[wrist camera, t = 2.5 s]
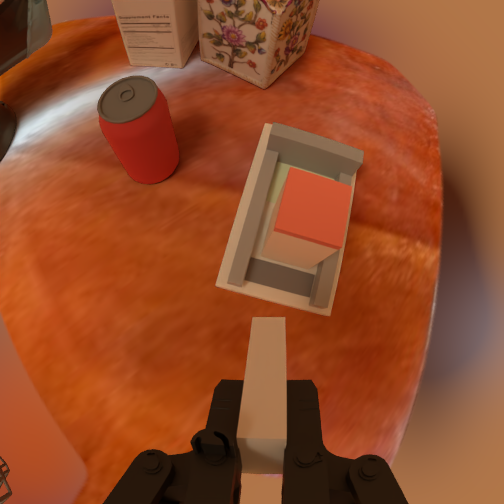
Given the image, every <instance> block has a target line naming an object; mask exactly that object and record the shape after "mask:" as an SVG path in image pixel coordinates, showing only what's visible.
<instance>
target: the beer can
mask: <svg viewBox="0 0 504 504" xmlns="http://www.w3.org/2000/svg"><path fill="white" fill-rule="evenodd" d="M97 110H98V113H99V123H100V127H101V129H102V132H103V134H104V136H105V137H106V139H107V141H108V142H109V144H110V146H111V147H112V149H113V151H114V152H115V154H116V155H117V157H118V159H119V160H120V162H121V164H122V165H123V167H124V168H125V170H126V172H127V173H128V175H129V176H130V177H131V178H132V179H133V180H134V181H137V182H139V183H142V184H153V183H158V182H160V181H162V180H164V179H166V178H167V177H168V176H170V175H171V174H172V173H173V172H174V170H175V168H176V167H177V165H178V162H179V157H180V156H179V149H178V145H177V141H176V137H175V133H174V129H173V125H172V121H171V117H170V113H169V109H168V104H167V100H166V99H165V97H164V95H163V93H162V92H161V90H160V89H159V88H158V87H157V85H156V84H155V82H154V81H153V80H151V79H150V78H148V77H144V76H130V77H126V78H122V79H120V80H118V81H116V82H114V83H113V84H112V85H110V86H109V87H108V88H107V89H106V90H105V91H104V92H103V94H102V95H101V97H100V99H99V101H98V107H97Z"/></svg>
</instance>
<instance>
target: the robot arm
mask: <svg viewBox="0 0 504 504" xmlns="http://www.w3.org/2000/svg"><path fill="white" fill-rule="evenodd" d="M51 36H52V25H51V20H50V15H49V11H48V6H47V1H46V0H0V76H1V75H2V74H4V73H5V72H6V71H8V70H9V69H11V68H12V67H13V66H15V65H16V64H18V63H19V62H21V61H22V60H24V59H25V58H28V57H29V56H30V55H31V54H32V53H33V52H35V51H36V50H38V49H39V48H41V47H42V46H44V45H45V44H46V43H47V42H48V41H49V40H50V38H51ZM15 126H16V116H15V113H14V112H13V110H12V109H11V108H10V107H9V106H8V105H7V104H6V103H5V102H2V101H0V160H1V159H2V157H3V156H4V154H5V152H6V151H7V149H8V147H9V145H10V142H11V140H12V137H13V135H14V131H15ZM190 442H191V445H192V447H193V450H192V451H190V452H188V453H183V454H176V455H167V454H166V453H164V452H162V451H160V450H155V449H152V450H146V451H144V452H141V453H140V454H139V455H138V456H137V457H136V458H135V459H134V461H133V462H132V463H131V465H130V466H129V468H128V469H127V471H126V472H125V473H124V475H123V476H122V478H121V479H120V480H119V482H118V483H117V485H116V486H115V487H114V489H113V490H112V492H111V493H110V494H109V496H108V497H107V499H106V500H105V501H104V503H103V504H240V495H241V473H253V474H283V483H282V504H408V502H407V500H406V498H405V497H404V494H403V492H402V490H401V488H400V487H399V485H398V483H397V481H396V479H395V477H394V475H393V473H392V471H391V469H390V467H389V465H388V464H387V463H386V461H385V460H384V459H383V458H381V457H379V456H377V455H370V454H369V455H363V456H361V457H359V458H357V459H355V460H354V459H348V458H343V457H339V456H335V455H334V454H332V453H330V452H329V451H328V450H327V449H326V448H325V446H324V444H323V440H322V430H321V420H320V410H319V402H318V391H317V388H316V386H315V385H314V383H313V382H312V380H286V328H285V317H252V325H251V333H250V340H249V348H248V356H247V363H246V370H245V378H244V380H223V379H222V380H221V381H220V382H219V384H218V385H217V386H216V387H215V389H214V394H213V398H212V403H211V408H210V411H209V416H208V420H207V424H206V429H203V430H201V431H199V432H197V433H196V434H195V435H194V436H193V438H192V440H191V441H190Z"/></svg>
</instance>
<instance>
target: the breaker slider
mask: <svg viewBox="0 0 504 504" xmlns="http://www.w3.org/2000/svg"><path fill="white" fill-rule="evenodd" d="M351 192H352V186H349V185H346V184H343V183H340V182H337V181H334V180H331V179H328V178H325V177H322V176H319V175H316V174H313V173H310V172H306V171H303V170H300V169H297V168H293V167H290V169H289V171H288V174H287V176H286V179H285V181H284V184H283V186H282V189H281V191H280V193H279V196H278V198H277V201H276V203H275V206H274V208H273V211H272V214H271V218H270V222H269V225H268V229H267V233H266V237H265V240H264V244H263V248H262V252H261V255H260V256H261V257H264V258H268V259H271V260H275V261H278V262H282V263H286V264H289V265H293V266H296V267H300V268H303V269H307V270H308V269H310V268H311V267H313V266H314V265H316V264H318V263H319V262H321V261H322V260H324V259H325V258H327V257H328V256H330V255H331V254H333V253H335V252H336V251H338V250H339V249H341V248H342V245H343V240H344V234H345V229H346V223H347V217H348V211H349V205H350V198H351Z"/></svg>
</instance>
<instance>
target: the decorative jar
mask: <svg viewBox="0 0 504 504" xmlns="http://www.w3.org/2000/svg"><path fill="white" fill-rule="evenodd" d="M318 3H319V0H197V4H198V31H199V45H200V55H201V60H202V61H204V62H207V63H209V64H211V65H214V66H216V67H218V68H220V69H222V70H225V71H227V72H229V73H231V74H233V75H235V76H237V77H239V78H241V79H243V80H246V81H248V82H250V83H252V84H254V85H256V86H258V87H260V88H262V89H266V88H267V87H268V86H269V85H271V84H272V83H273V82H274V81H275V80H276V79H277V78H278V77H279V76H280V75H281V74H282V73H283V72H284V71H285V70H286V69H287V68H288V67H290V66H291V65H292V64H293V63H294V62H295V61H296V60H297V59H298V58H299V57H300V56H302V55H303V53H304V52H305V49H306V46H307V43H308V40H309V36H310V33H311V29H312V26H313V23H314V19H315V15H316V12H317V8H318Z"/></svg>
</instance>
